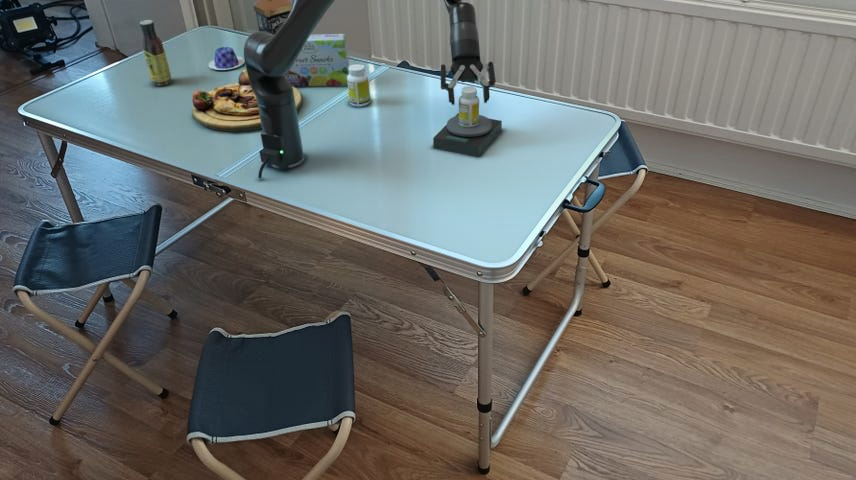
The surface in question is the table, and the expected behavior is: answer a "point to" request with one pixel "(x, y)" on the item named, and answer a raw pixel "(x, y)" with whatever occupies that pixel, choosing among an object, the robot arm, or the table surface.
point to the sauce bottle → (155, 55)
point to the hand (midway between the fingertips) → (469, 102)
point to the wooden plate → (231, 106)
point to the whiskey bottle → (271, 14)
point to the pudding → (225, 59)
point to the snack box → (321, 62)
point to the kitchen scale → (467, 136)
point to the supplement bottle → (468, 107)
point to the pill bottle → (358, 86)
